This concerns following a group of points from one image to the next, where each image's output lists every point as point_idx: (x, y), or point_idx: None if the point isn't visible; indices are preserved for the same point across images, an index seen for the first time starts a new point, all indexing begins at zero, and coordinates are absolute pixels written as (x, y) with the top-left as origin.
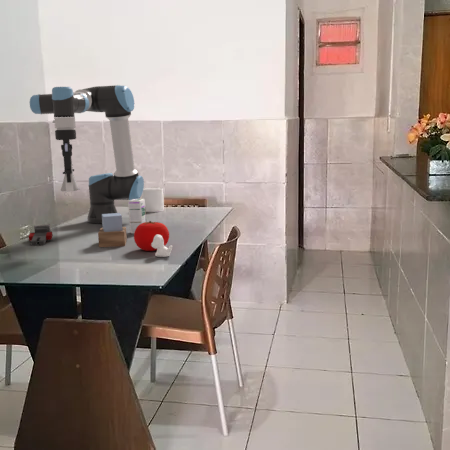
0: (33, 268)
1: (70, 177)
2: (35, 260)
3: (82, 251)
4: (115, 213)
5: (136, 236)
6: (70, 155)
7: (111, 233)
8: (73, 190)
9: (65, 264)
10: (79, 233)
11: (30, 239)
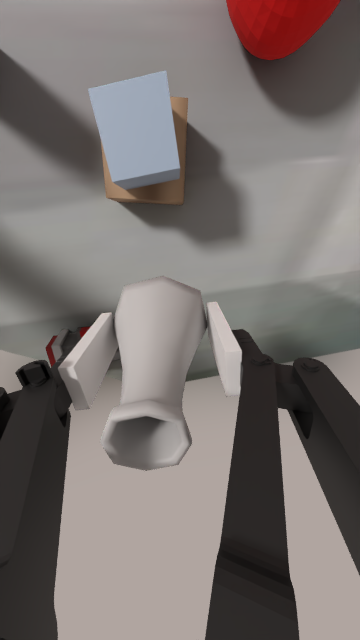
0: (325, 317)
1: (256, 346)
2: (265, 324)
3: (218, 243)
4: (102, 111)
5: (311, 31)
6: (291, 584)
7: (185, 154)
8: (216, 302)
9: (324, 265)
10: (8, 274)
11: None
